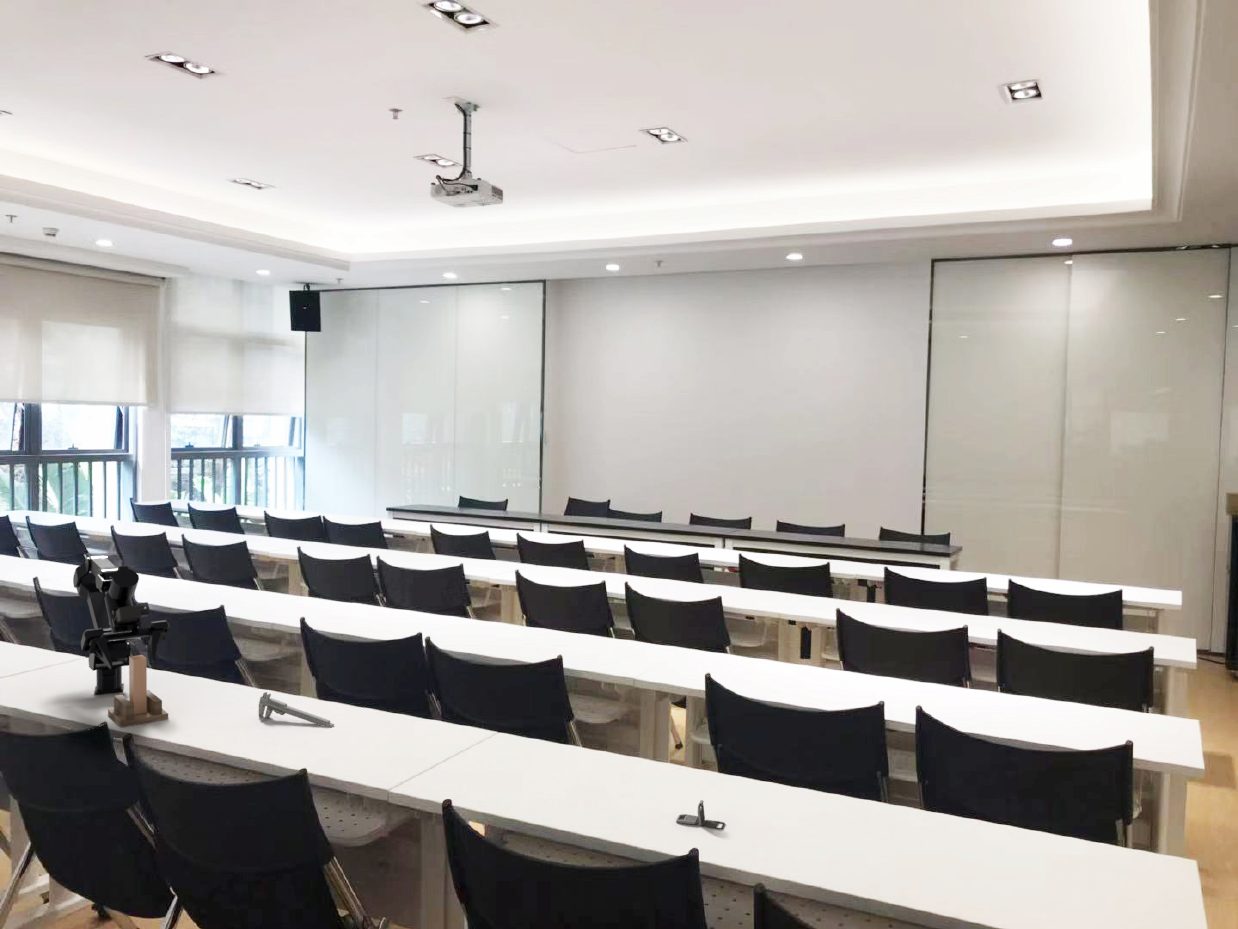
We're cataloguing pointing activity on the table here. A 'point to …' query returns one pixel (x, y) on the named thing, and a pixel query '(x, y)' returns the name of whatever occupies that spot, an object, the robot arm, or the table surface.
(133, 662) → the clay block
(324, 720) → the caliper
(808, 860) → the table surface
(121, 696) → the slot rack
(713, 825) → the strap clip
